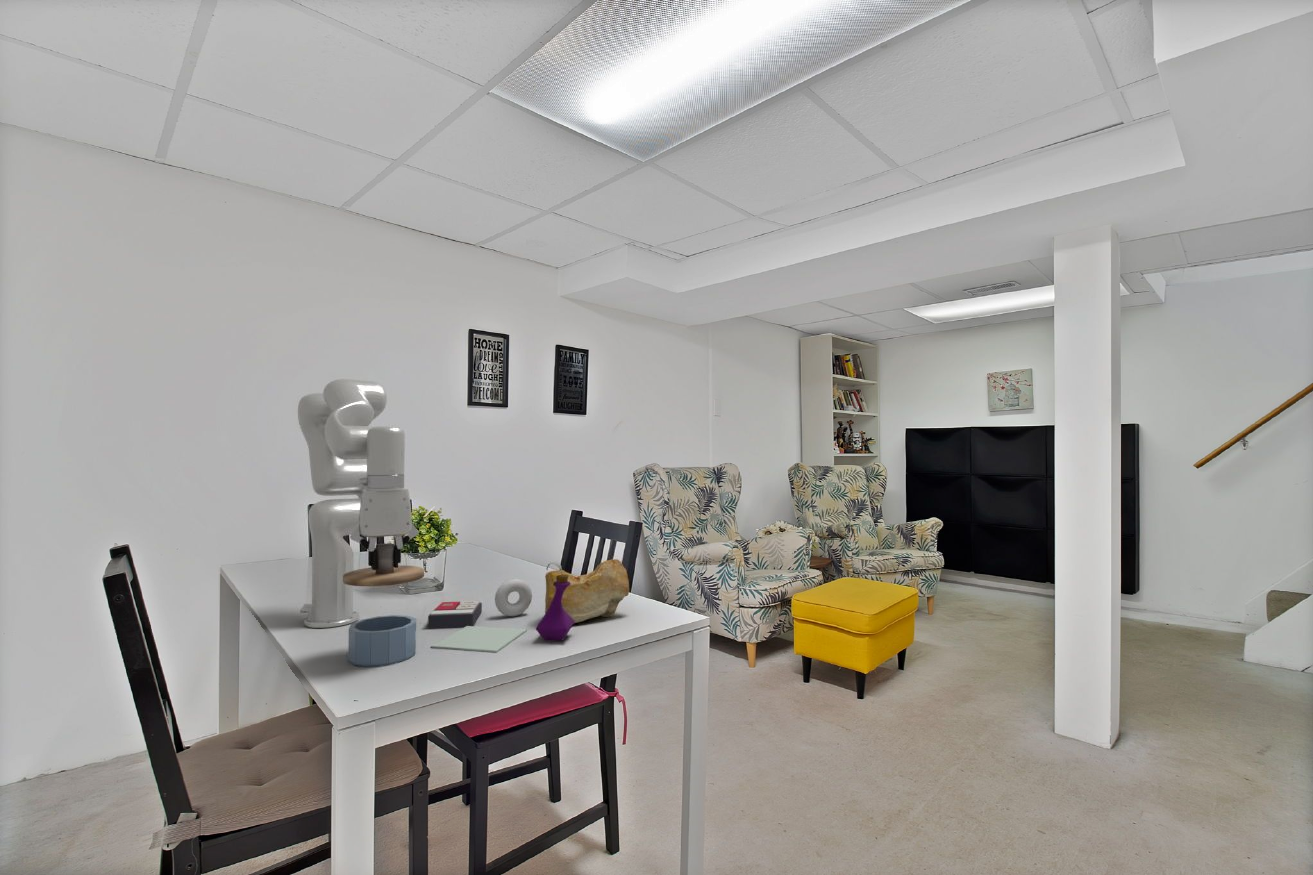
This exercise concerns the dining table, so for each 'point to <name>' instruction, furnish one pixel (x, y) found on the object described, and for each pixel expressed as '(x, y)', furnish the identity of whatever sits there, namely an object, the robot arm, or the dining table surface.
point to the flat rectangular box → (455, 615)
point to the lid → (383, 571)
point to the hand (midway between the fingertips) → (384, 567)
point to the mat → (480, 639)
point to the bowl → (382, 640)
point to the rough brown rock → (591, 591)
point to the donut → (504, 592)
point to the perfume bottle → (556, 613)
